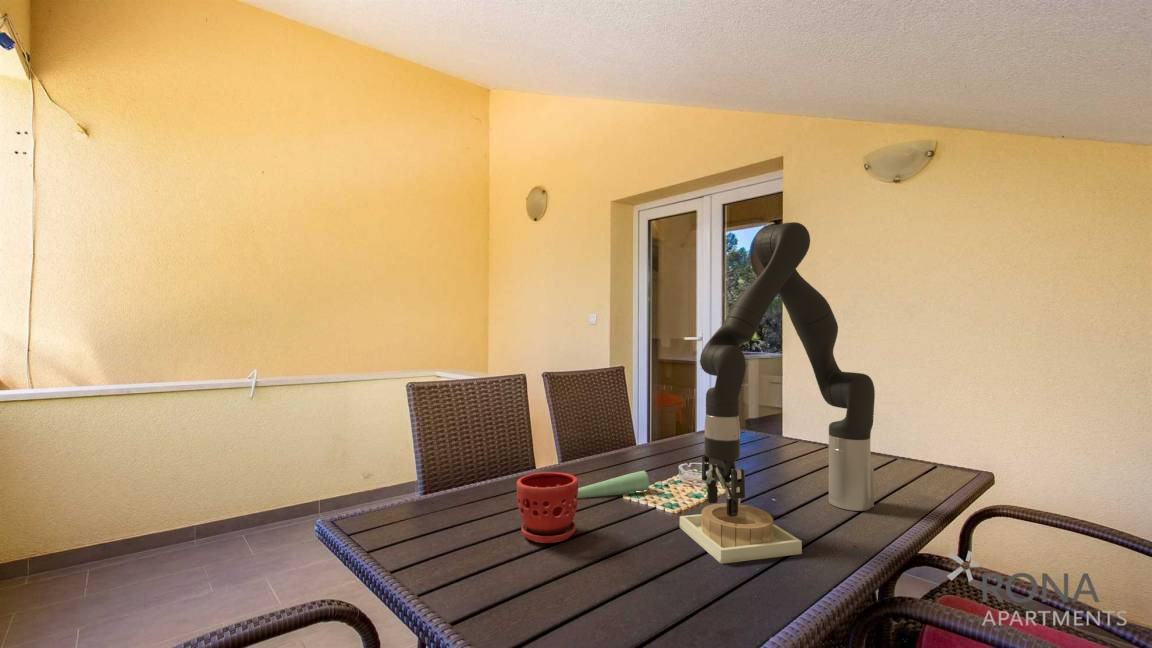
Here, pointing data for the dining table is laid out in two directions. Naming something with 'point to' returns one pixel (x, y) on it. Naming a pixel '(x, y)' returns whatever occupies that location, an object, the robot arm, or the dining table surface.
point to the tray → (779, 547)
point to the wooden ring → (737, 525)
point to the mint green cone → (616, 485)
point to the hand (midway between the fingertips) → (721, 509)
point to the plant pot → (547, 506)
